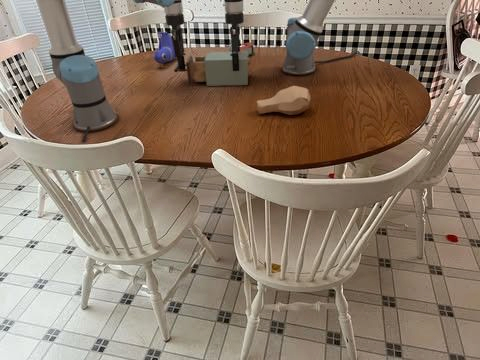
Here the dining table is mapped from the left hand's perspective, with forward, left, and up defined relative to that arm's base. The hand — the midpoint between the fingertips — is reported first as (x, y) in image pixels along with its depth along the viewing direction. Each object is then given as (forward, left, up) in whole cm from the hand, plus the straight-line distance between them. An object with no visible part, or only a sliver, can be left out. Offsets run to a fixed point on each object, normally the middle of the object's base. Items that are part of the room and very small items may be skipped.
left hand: (182, 70), depth 159 cm
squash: (-35, -42, -6) cm, 55 cm away
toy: (+29, +13, -6) cm, 32 cm away
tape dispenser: (+32, -26, -6) cm, 42 cm away
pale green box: (-1, -20, -5) cm, 21 cm away
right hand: (-1, -24, +1) cm, 24 cm away
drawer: (0, -8, -4) cm, 9 cm away
